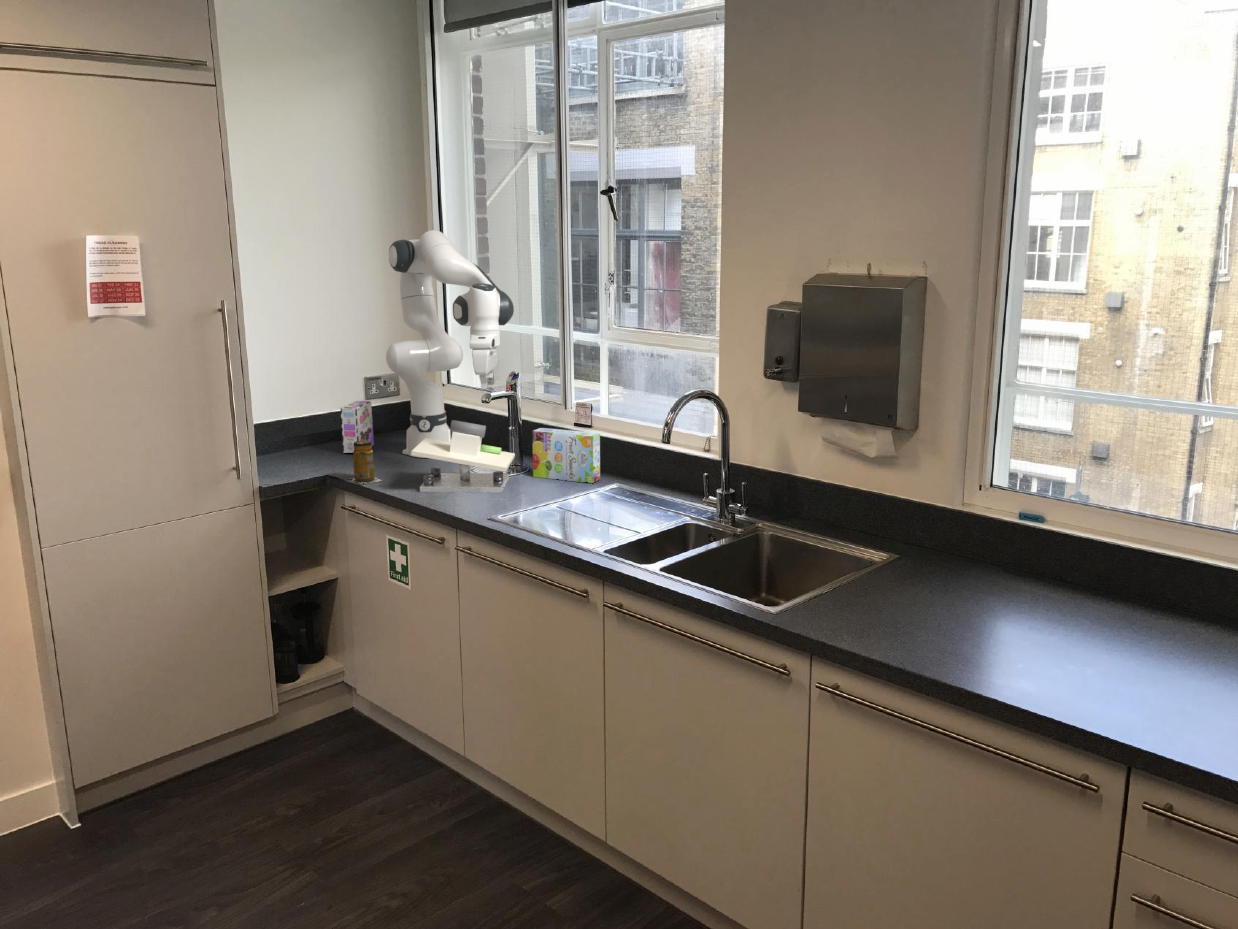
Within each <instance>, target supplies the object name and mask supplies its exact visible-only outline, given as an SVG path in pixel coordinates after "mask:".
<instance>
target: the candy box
mask: <svg viewBox="0 0 1238 929" xmlns="http://www.w3.org/2000/svg"><path fill="white" fill-rule="evenodd" d="M372 409H373V407H372V400H355V401H354V402H353V401H352V402H351V403H348V404H346V405H344V406H341V407H340V419H341V420H340V421H341V422H340V423H341V435H342V438H341V439H342V452H343V453H353V451H354V442H356V441H370V442H371V447H372V446H373V445H374V446H375V437H374V422H373V410H372ZM374 446H373V447H374ZM373 447H372V448H373Z"/></svg>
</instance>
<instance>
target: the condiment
mask: <svg viewBox="0 0 1238 929" xmlns="http://www.w3.org/2000/svg"><path fill="white" fill-rule="evenodd" d="M372 448H373V447H371V442H370V441H356V442H354V451H353V454H352V460H353V461H352V462H353V475H354V476H353V478H351V479H355V480H350V481H352V482H354V483H356V484H360V485H366V484H372V483H373V482H374V483H378V482H383V480H382V479H380V478H377V477H375V464H374V461H375V460H374V451H373V449H372ZM374 477H375V479H377V480H374ZM358 482H360V483H358ZM361 482H368V483H364V484H363V483H361ZM374 483H373V484H374Z"/></svg>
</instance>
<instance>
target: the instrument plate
mask: <svg viewBox="0 0 1238 929" xmlns="http://www.w3.org/2000/svg"><path fill="white" fill-rule="evenodd" d="M449 429H450V432H451V442H447V441H441V440H435V439H430V438H425V439H424V440H423V441H422V442H421V443H420V444H419V445H417V446H416V447H415V448H414V449H413V450H412V452H411V455H414V456H420V457H419V458H421V457H425V458H427V459H432V460H438V461H443V462H448V463H449V462H450V463H455V464H459V465H460V464H465V465H470V467H471V466H472V467H476V468H484V469H489V470H495V471H501V472H507V471H508V469H509V467H510V466H511V464H512V462H513V461H514V459H515V457H516V453H515V452H508V451H502V447H499V446H498V447H497V446H493V445H487V444H482V439H483V438H485V435H486V430H487V425H484V424H483V425H482V424H477V423H472V422H471V423H470V422H467V421H460V420H455V419H452V420H451V422H450V427H449ZM425 458H424V459H425Z"/></svg>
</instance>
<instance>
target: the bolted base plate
mask: <svg viewBox="0 0 1238 929" xmlns="http://www.w3.org/2000/svg"><path fill="white" fill-rule="evenodd" d="M422 478H423V483H421V485H420V486H419V493H502V492H501V491H503V490H504V488H505V487H506V485H507V482H508V481H509V479H510V475H509V473H504V471H499V470H495V471H493V472H492V473H479V472H477V473H471V465H465V464H459V472H458V473H455V472H454V473H451V472H447V473H446V472H445V473H443V472H442V470H441V466H433V467H430V474H425V475H423V477H422ZM505 484H506V485H505ZM503 487H504V488H503Z"/></svg>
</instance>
